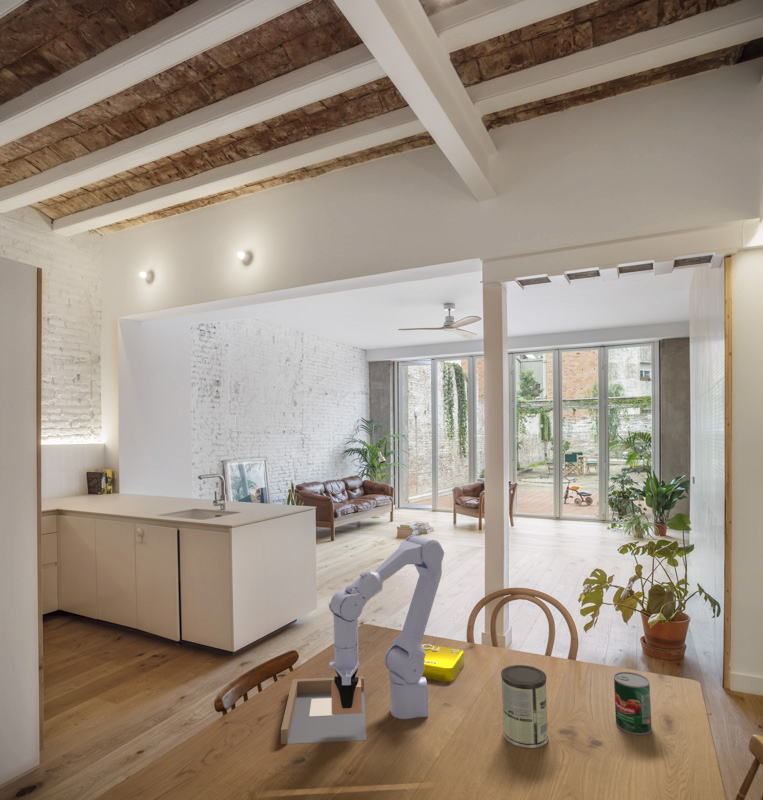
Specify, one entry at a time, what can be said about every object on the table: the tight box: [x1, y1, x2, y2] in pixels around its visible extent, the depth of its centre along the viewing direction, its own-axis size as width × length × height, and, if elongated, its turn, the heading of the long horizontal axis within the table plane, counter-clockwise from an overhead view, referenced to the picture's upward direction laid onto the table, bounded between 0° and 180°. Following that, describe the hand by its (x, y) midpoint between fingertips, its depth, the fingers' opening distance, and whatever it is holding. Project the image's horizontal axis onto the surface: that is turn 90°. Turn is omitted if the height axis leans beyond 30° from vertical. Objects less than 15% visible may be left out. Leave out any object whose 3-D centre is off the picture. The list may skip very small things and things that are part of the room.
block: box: [331, 679, 362, 715], centre depth 130 cm, size 7×4×6 cm, turn 93°
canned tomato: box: [613, 671, 653, 736], centre depth 132 cm, size 8×8×11 cm
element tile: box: [422, 643, 465, 683], centre depth 165 cm, size 15×15×5 cm
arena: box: [280, 675, 368, 745], centre depth 138 cm, size 20×26×4 cm
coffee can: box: [500, 664, 549, 749], centre depth 128 cm, size 10×10×14 cm
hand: (347, 702), depth 130 cm, fingers closed on block, 4 cm apart
